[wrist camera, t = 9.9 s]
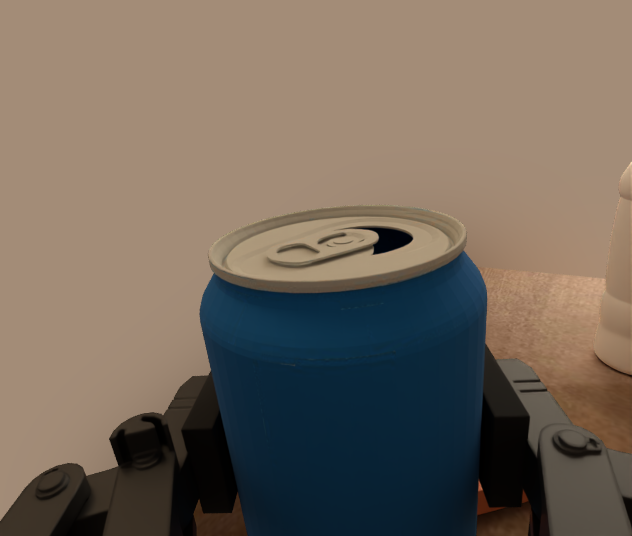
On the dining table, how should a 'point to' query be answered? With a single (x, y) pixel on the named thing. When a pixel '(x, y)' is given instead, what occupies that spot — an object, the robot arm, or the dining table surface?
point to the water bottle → (618, 288)
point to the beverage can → (350, 371)
